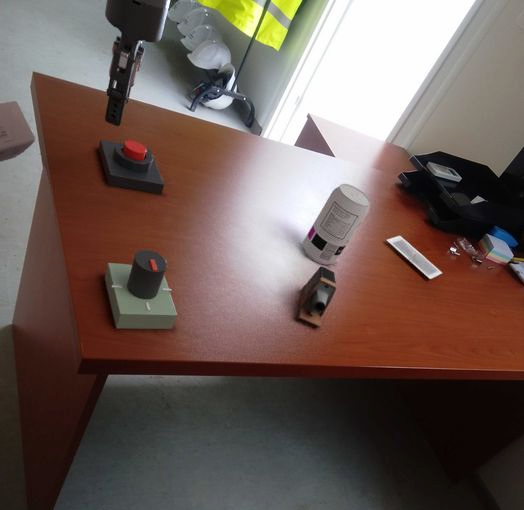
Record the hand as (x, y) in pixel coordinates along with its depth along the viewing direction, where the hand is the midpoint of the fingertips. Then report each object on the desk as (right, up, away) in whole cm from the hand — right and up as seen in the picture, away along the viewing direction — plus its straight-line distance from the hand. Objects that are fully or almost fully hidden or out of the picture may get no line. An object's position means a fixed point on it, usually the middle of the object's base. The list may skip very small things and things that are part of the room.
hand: (116, 111), depth 70 cm
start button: (-2, +1, +17) cm, 17 cm away
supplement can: (+34, -16, +29) cm, 48 cm away
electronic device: (+31, -29, +14) cm, 45 cm away
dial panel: (+4, -30, -3) cm, 30 cm away
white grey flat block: (+61, -13, +47) cm, 78 cm away
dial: (+5, -28, -5) cm, 29 cm away
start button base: (-4, -2, +19) cm, 20 cm away
